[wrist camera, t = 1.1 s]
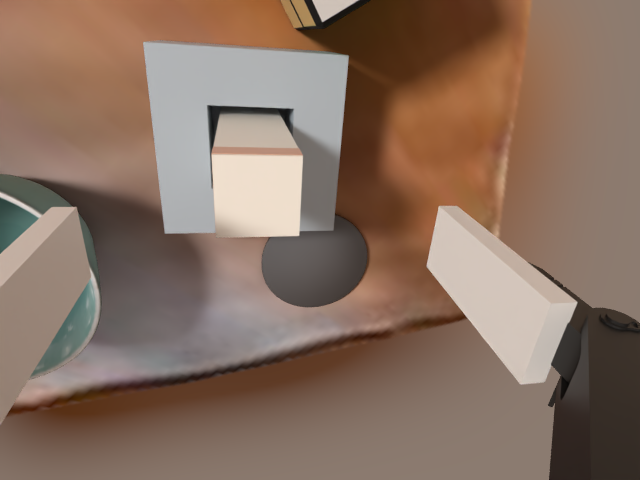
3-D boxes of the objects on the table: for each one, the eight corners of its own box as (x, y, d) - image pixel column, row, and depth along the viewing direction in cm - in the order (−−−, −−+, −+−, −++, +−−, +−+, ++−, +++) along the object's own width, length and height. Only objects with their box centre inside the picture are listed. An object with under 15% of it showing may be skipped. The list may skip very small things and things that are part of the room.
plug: (223, 158, 32) (215, 238, 19) (221, 104, 30) (211, 154, 18) (275, 159, 33) (299, 236, 20) (276, 106, 31) (303, 155, 18)
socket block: (175, 202, 34) (164, 233, 28) (160, 40, 28) (143, 41, 23) (319, 201, 36) (333, 230, 31) (329, 51, 31) (348, 55, 25)
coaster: (261, 307, 40) (261, 309, 39) (261, 212, 35) (261, 214, 35) (360, 302, 42) (361, 304, 41) (371, 211, 37) (373, 213, 37)
